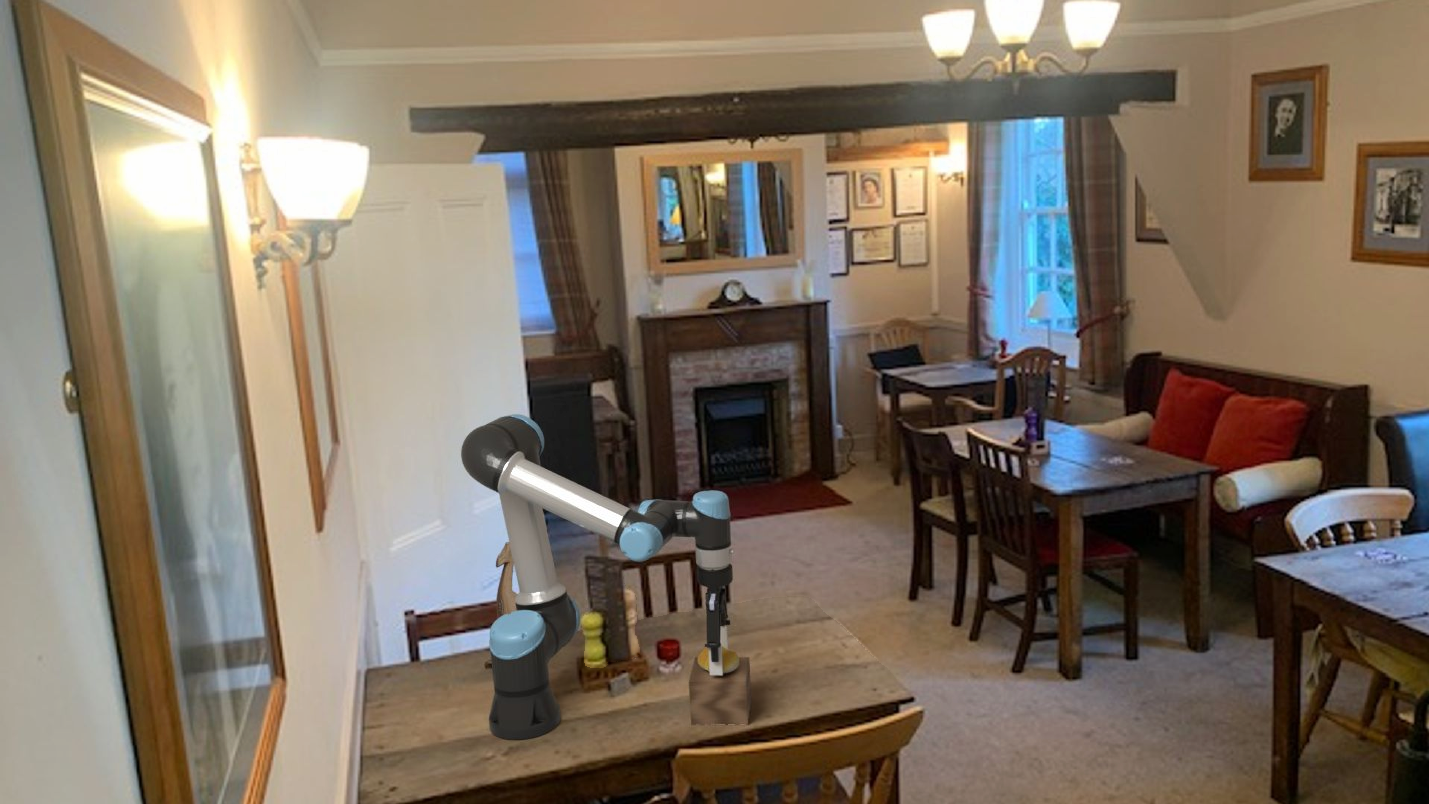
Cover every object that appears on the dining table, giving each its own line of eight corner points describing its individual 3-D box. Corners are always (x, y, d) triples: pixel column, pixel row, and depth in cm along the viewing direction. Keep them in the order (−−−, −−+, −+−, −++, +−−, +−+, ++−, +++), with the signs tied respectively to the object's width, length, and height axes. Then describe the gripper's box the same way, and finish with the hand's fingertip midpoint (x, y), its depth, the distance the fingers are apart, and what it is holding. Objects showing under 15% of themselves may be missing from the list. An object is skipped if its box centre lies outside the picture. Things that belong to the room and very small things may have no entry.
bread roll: (719, 678, 222) (718, 660, 221) (692, 666, 228) (691, 648, 228) (748, 666, 227) (747, 648, 226) (720, 654, 234) (719, 637, 233)
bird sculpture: (482, 671, 257) (467, 546, 250) (517, 652, 266) (504, 531, 259) (514, 682, 250) (500, 554, 243) (549, 662, 259) (537, 538, 252)
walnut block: (691, 725, 224) (688, 681, 223) (697, 699, 236) (695, 657, 234) (747, 725, 223) (745, 681, 221) (751, 699, 235) (749, 657, 233)
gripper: (726, 582, 212) (730, 687, 217) (737, 547, 234) (741, 643, 238) (688, 582, 213) (694, 687, 218) (703, 547, 235) (708, 643, 239)
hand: (719, 664), depth 228 cm, fingers closed on bread roll, 9 cm apart
